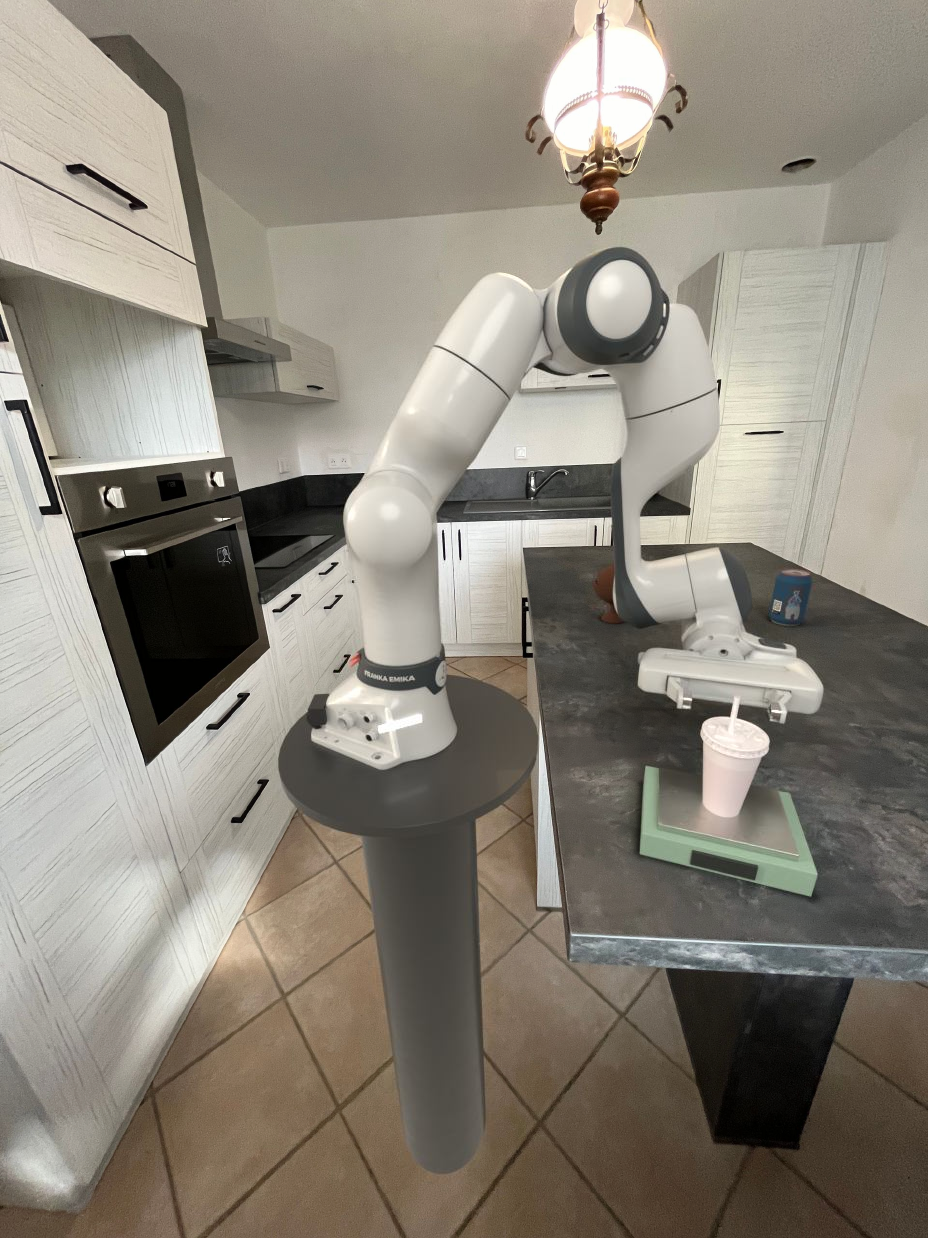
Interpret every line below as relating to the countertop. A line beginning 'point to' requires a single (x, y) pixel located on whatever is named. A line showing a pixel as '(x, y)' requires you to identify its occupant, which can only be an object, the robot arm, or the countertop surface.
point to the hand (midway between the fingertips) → (729, 710)
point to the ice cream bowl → (607, 592)
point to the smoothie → (730, 761)
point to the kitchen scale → (727, 849)
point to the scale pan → (750, 829)
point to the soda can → (790, 597)
